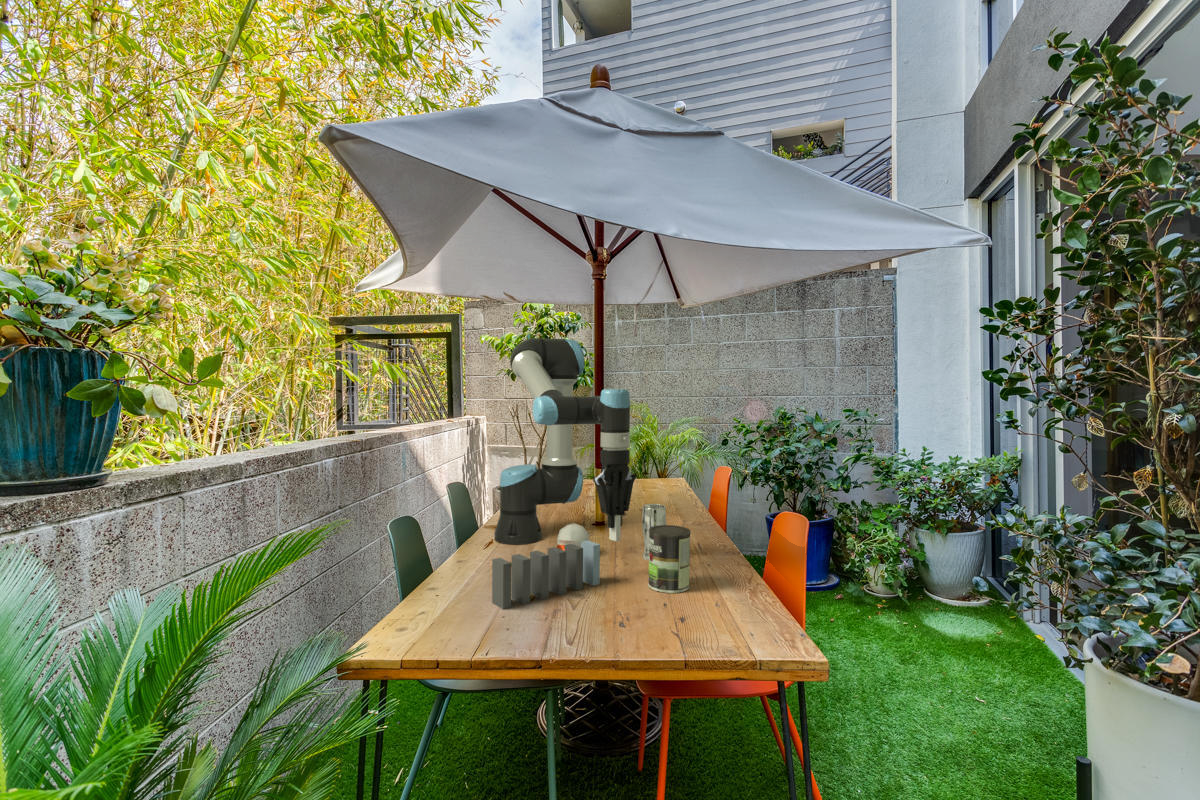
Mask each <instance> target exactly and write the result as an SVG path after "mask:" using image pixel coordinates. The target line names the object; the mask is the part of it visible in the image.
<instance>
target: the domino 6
mask: <svg viewBox="0 0 1200 800" xmlns="http://www.w3.org/2000/svg"><path fill="white" fill-rule="evenodd" d="M581 547H582V548H583V583H585V582H586V584H587V583H588V585H589V584H591V585H590V586H592V585H593V586H592V587H595V586H594V585H596V586H599V585H598V584H600V582H601V581H600V579H601V578H600V573H601V572H600V570H601V567H600V565H601V563H600V562H601V557H600V556H601V545H600V543H597V542H593V541H591V540H590V541H588V540H587V541H582V542H581Z"/></svg>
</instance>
